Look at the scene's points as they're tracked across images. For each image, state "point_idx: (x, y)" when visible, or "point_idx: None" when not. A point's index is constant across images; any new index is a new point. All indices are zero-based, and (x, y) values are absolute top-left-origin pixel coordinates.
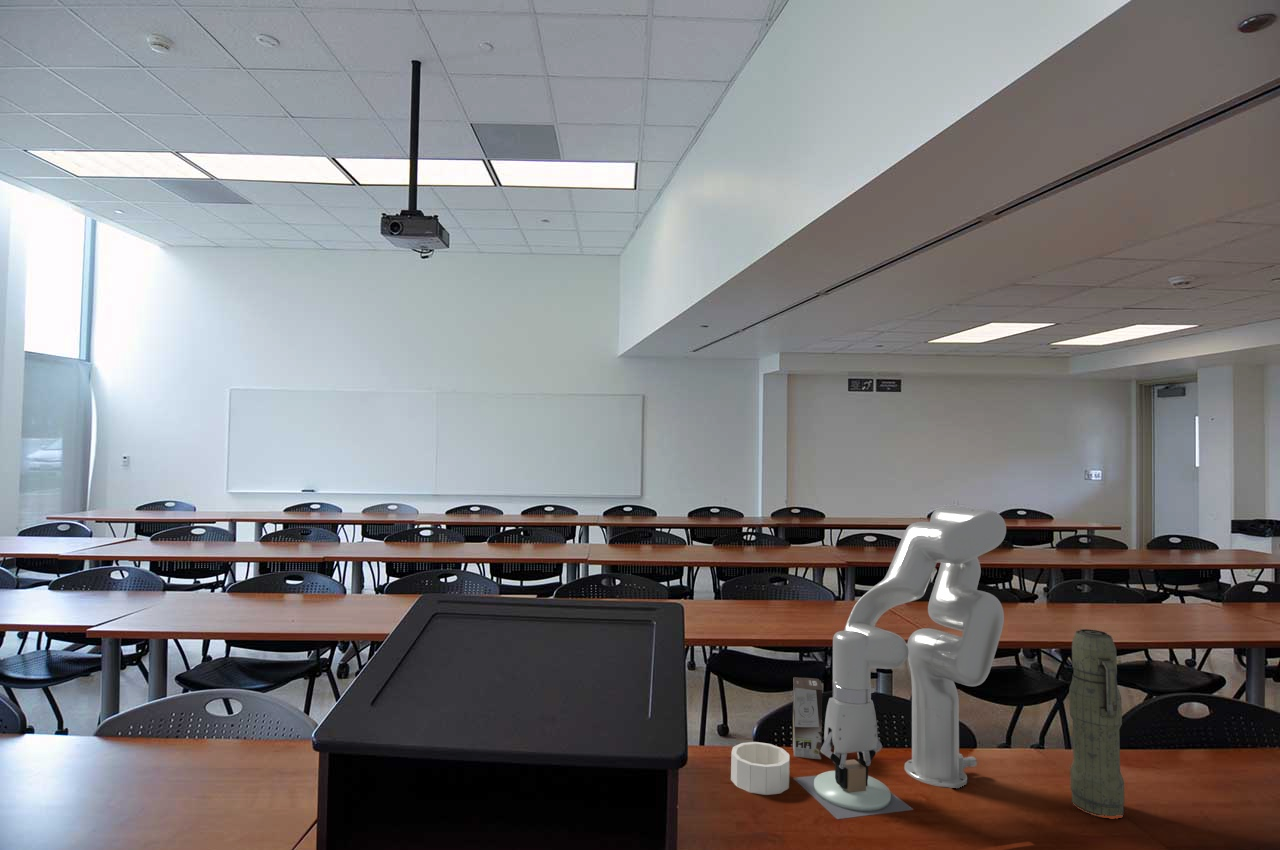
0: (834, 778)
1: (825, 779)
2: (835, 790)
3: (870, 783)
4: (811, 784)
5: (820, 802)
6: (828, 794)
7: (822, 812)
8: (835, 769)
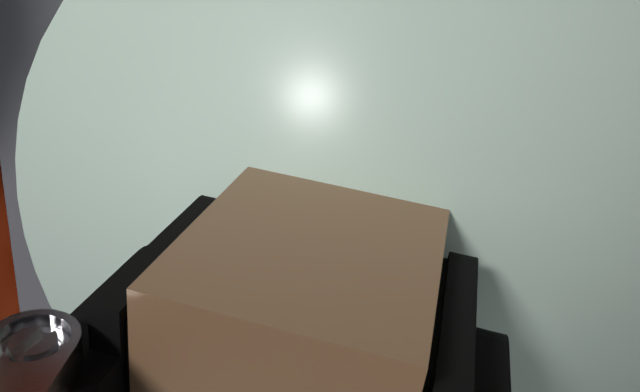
0: (287, 65)
1: (180, 42)
2: None
3: (584, 309)
4: None
5: (16, 251)
6: (65, 268)
7: (12, 300)
8: (85, 305)
